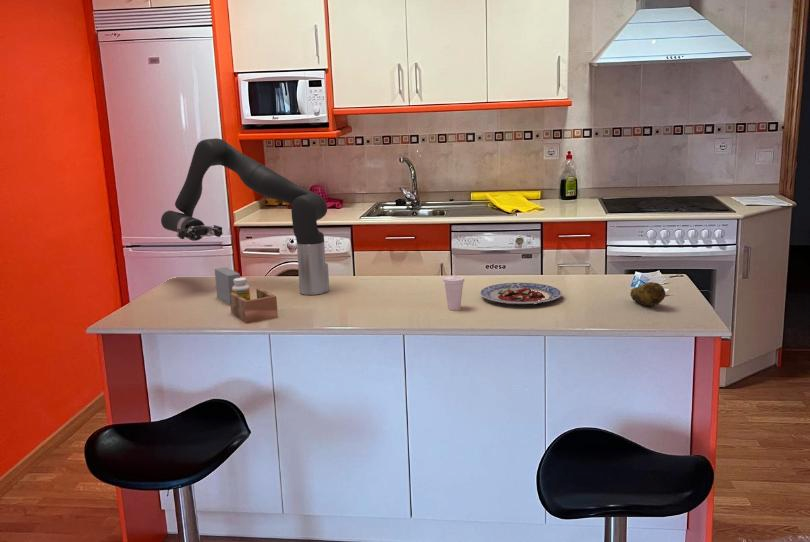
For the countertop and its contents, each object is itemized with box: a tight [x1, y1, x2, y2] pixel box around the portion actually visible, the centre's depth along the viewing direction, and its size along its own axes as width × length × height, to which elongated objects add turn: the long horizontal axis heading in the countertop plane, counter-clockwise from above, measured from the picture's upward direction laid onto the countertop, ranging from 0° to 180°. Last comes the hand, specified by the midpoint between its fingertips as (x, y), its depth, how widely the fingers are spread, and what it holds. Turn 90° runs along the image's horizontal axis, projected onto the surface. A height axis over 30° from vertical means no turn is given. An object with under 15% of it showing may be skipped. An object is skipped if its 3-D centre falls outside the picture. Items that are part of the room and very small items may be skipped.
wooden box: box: [229, 287, 279, 324], centre depth 228 cm, size 13×10×6 cm
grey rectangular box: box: [214, 266, 241, 307], centre depth 246 cm, size 13×4×10 cm, turn 32°
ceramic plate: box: [479, 282, 563, 305], centre depth 238 cm, size 26×26×3 cm
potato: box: [630, 282, 666, 306], centre depth 224 cm, size 8×13×8 cm, turn 176°
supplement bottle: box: [232, 277, 251, 300], centre depth 236 cm, size 5×5×10 cm
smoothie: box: [443, 263, 465, 311], centre depth 227 cm, size 6×6×14 cm
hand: (206, 235), depth 246 cm, fingers open, 8 cm apart
